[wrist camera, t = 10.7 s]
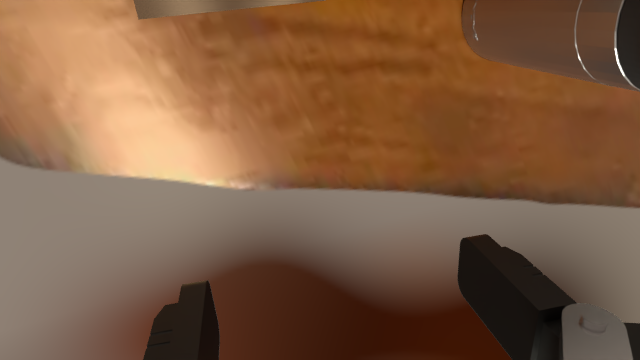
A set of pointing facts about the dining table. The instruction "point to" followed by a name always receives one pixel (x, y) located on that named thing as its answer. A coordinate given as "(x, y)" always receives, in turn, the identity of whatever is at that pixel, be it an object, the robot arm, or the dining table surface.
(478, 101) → the dining table surface
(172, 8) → the base block
